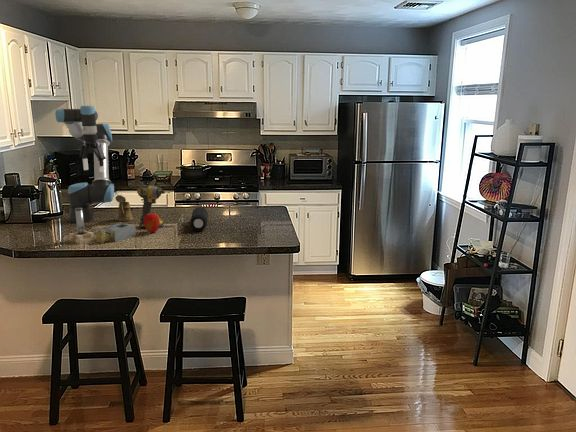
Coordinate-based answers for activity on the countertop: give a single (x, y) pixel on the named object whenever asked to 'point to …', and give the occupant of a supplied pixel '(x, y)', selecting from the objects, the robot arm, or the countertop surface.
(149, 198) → the cordless drill
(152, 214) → the apple
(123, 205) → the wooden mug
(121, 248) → the countertop surface
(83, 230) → the rod
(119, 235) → the socket block
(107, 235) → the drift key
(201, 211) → the portable speaker
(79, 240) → the wooden square frame
